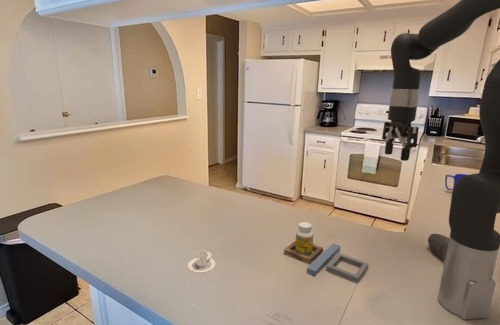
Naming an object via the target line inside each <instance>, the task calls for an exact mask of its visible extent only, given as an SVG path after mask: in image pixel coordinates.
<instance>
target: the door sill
mask: <svg viewBox="0 0 500 325" xmlns="http://www.w3.org/2000/svg"><path fill="white" fill-rule="evenodd" d="M340 250H341V245H340V244H339V245H338V244H336V243H331V244H330V246H329V247H327V249H325V250H323V252H322V253H321V254H320V255H319V256H318V257H317V258H316V259H315V260H314V261H313V262H312V263H310V264H309V266H308V267H307V268H306V274H309V275H311V276H314V277H315V276H317V275H318V273H320V272H321V270H322V269H323V268H324V267H326V266H327V265H328V264H329V263H330V262H331V261H332V260H333V259H334V258H335V256H336V255H337V254H338V253H340Z"/></svg>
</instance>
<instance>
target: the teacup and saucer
mask: <svg viewBox="0 0 500 325" xmlns="http://www.w3.org/2000/svg"><path fill="white" fill-rule="evenodd" d="M195 256H196V257H195V258H193V259H191V260H190V261H189V262H188V263H187V268H188V269H189V270H190V271H191V272H193V273H196V274H197V273H202V274H203V273H207V272H210V271H212V270H213V269H215V266H216V261H215V260H214V259H213V258H212V256H213V255H212V253H211V252H210V251H205V250H199V251H197V252H196V253H195ZM208 261H209V262H210V264H211V265H210V266H209V267H208V268H206V269H203V270H200V269H195V268H194V267H193V264H194V263H195V262H196V265H197V266H198V267H200V268H204V267H206V266H207V262H208Z"/></svg>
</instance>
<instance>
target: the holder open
mask: <svg viewBox="0 0 500 325" xmlns="http://www.w3.org/2000/svg"><path fill="white" fill-rule="evenodd" d="M340 261H342V262H344V263H347V264H350V265H352V266H355V267H357V268H359V269H358V270H357V272H355V273H353V272H349V271H348V270H344V269H342V268H340V267H337V265H338V264H339V263H340ZM368 268H369V262H366V261H362V260H360V259H357V258H354V257H351V256H349V255H346V254H343V253H340V252H338V253H337V254H336V255H335V256H334V257H333V258H332V259H331V260H330V261H329V262H328V263H327V264H326V265H325V271H326V272H329V273H331V274H333V275H336V276H339V277H341V278H344V279H347V281H352V282H353V283H355V284H358V283H359V282H360V280H361V279H362V277H364V275H365V273H366V272H367V270H368Z"/></svg>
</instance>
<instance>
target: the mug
mask: <svg viewBox="0 0 500 325" xmlns="http://www.w3.org/2000/svg"><path fill="white" fill-rule="evenodd" d="M466 175H467V174H464V173H456V174H454V175H451V174H446V175H445V178H444V180H445V181H444V182H445V188H446V190H448V191H453V189H454V186H455V184H456V183H457V181H458V180H459V179H460V178H462V177H464V176H466ZM449 177H450V178H453V186H452V187H453V188H449V187H448V184H447V183H448V182H447V181H448V180H447V179H448V178H449Z"/></svg>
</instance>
